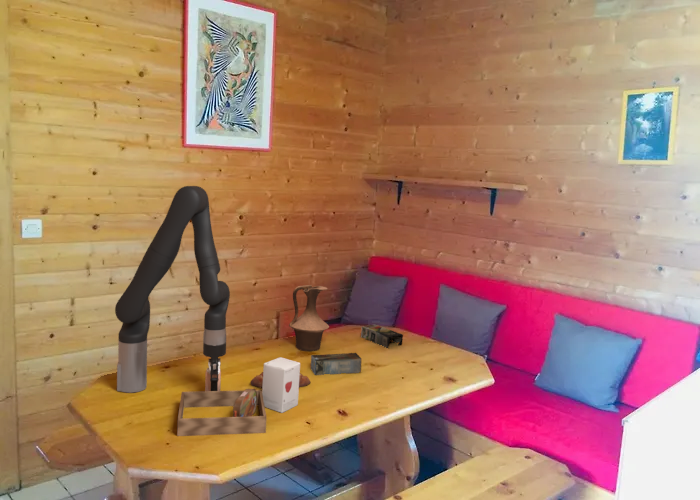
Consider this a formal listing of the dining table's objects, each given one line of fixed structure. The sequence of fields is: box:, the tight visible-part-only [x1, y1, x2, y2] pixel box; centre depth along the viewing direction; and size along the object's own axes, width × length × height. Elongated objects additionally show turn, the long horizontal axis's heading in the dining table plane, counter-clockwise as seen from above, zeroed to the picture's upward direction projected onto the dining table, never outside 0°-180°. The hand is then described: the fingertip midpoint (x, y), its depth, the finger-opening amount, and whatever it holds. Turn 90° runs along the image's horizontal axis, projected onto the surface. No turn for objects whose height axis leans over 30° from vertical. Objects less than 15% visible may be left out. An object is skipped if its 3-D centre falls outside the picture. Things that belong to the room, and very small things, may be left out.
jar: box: [204, 366, 222, 391], centre depth 205 cm, size 5×5×10 cm
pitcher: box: [288, 284, 330, 352], centre depth 261 cm, size 18×17×28 cm
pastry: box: [250, 371, 311, 389], centre depth 219 cm, size 17×15×8 cm
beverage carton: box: [310, 352, 362, 376], centre depth 237 cm, size 8×19×7 cm, turn 107°
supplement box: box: [261, 356, 301, 414], centre depth 200 cm, size 9×9×15 cm
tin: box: [232, 388, 258, 417], centre depth 190 cm, size 15×3×8 cm, turn 168°
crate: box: [176, 389, 267, 437], centre depth 188 cm, size 26×21×5 cm
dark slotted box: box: [360, 324, 404, 349], centre depth 279 cm, size 20×10×6 cm, turn 39°
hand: (214, 386), depth 205 cm, fingers open, 8 cm apart
